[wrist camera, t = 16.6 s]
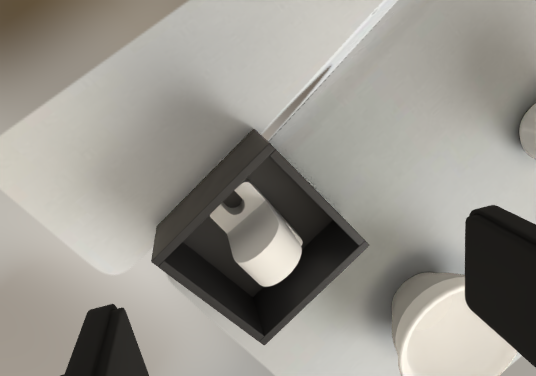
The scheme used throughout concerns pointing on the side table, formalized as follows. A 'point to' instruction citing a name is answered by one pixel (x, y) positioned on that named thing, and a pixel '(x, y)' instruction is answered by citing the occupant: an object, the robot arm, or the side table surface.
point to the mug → (529, 132)
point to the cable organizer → (259, 236)
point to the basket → (219, 251)
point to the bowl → (443, 330)
